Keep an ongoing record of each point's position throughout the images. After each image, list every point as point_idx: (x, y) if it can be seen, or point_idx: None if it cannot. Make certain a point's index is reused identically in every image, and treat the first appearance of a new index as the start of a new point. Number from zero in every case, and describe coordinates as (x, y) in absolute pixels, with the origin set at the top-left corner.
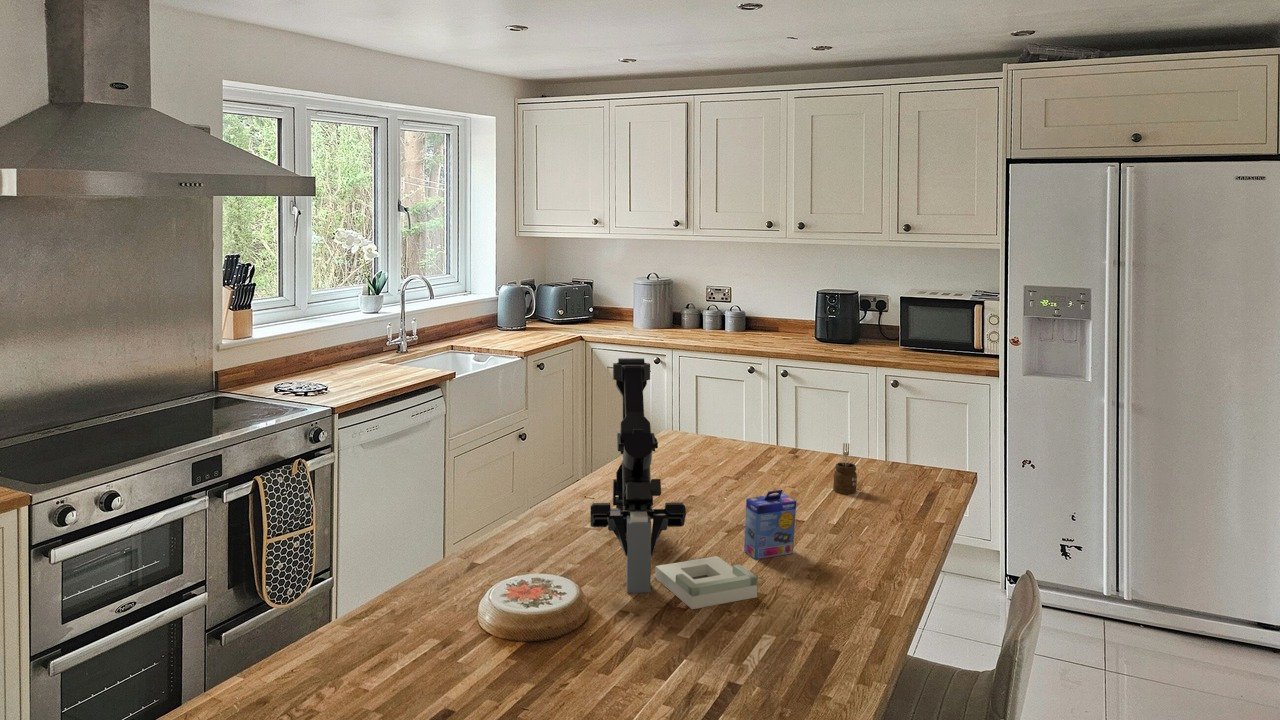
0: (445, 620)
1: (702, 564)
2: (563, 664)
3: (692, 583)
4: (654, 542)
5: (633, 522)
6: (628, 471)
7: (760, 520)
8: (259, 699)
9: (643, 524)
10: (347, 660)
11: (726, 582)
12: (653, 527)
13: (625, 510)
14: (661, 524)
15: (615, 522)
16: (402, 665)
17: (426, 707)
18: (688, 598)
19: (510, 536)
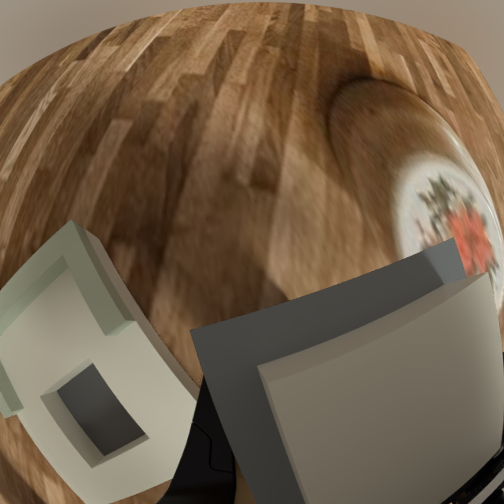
0: (476, 135)
1: (100, 466)
2: (294, 38)
3: (70, 257)
4: (205, 387)
5: (424, 284)
6: None
7: None
8: (452, 46)
9: (302, 300)
10: (463, 74)
11: (4, 286)
12: (226, 474)
13: (502, 474)
14: (159, 501)
15: (502, 353)
16: (430, 59)
17: (365, 14)
18: (98, 250)
19: None
